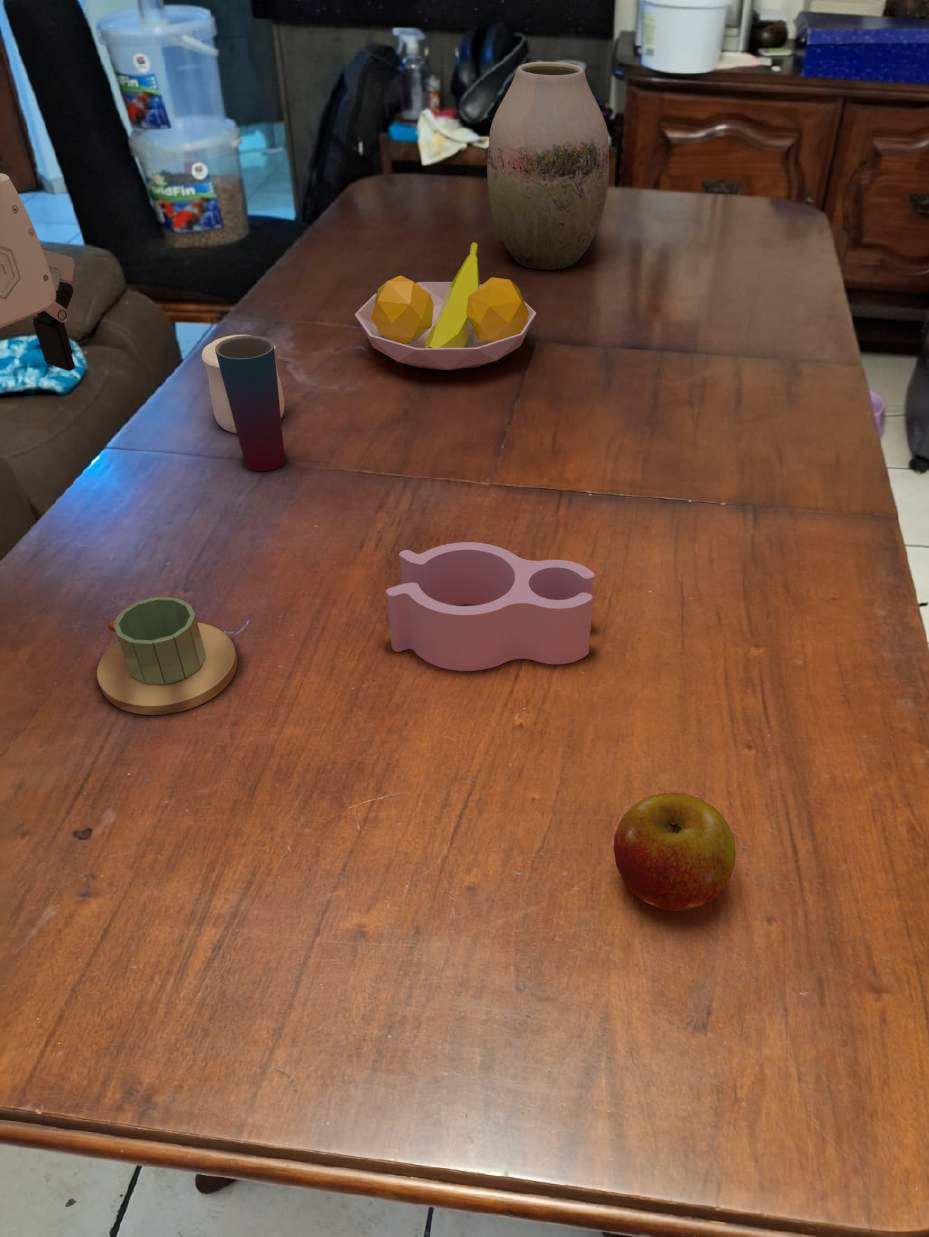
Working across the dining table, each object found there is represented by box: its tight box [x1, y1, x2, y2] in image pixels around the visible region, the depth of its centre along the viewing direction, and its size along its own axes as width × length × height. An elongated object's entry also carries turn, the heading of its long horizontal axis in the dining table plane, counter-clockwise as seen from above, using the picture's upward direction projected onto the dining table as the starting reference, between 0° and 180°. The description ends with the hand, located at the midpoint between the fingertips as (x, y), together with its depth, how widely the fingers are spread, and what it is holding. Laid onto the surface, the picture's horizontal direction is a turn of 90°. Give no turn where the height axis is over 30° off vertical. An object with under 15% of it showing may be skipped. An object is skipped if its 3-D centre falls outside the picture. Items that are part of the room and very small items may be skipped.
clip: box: [385, 541, 595, 672], centre depth 103 cm, size 20×12×7 cm, turn 85°
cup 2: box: [215, 334, 286, 472], centre depth 126 cm, size 7×7×15 cm
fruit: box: [613, 792, 736, 912], centre depth 80 cm, size 10×9×8 cm
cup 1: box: [200, 334, 286, 435], centre depth 136 cm, size 10×10×10 cm
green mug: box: [107, 596, 206, 685], centre depth 98 cm, size 10×7×5 cm
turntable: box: [96, 621, 238, 716], centre depth 100 cm, size 13×13×1 cm
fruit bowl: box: [354, 241, 537, 371], centre depth 154 cm, size 28×27×11 cm
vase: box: [486, 61, 610, 271], centre depth 178 cm, size 21×21×30 cm
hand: (14, 386), depth 87 cm, fingers open, 9 cm apart
